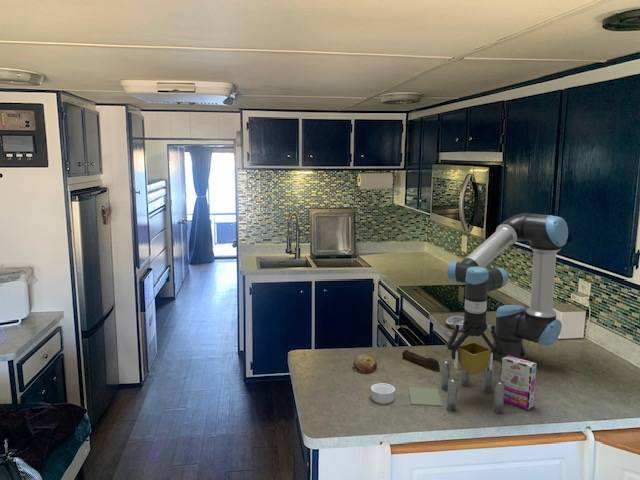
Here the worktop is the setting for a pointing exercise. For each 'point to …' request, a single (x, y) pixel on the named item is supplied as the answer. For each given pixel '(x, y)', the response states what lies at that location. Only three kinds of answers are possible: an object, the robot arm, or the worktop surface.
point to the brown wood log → (422, 360)
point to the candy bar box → (518, 381)
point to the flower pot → (473, 357)
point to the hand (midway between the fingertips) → (472, 368)
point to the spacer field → (451, 385)
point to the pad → (424, 396)
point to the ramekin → (382, 393)
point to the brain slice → (455, 321)
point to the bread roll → (365, 364)
